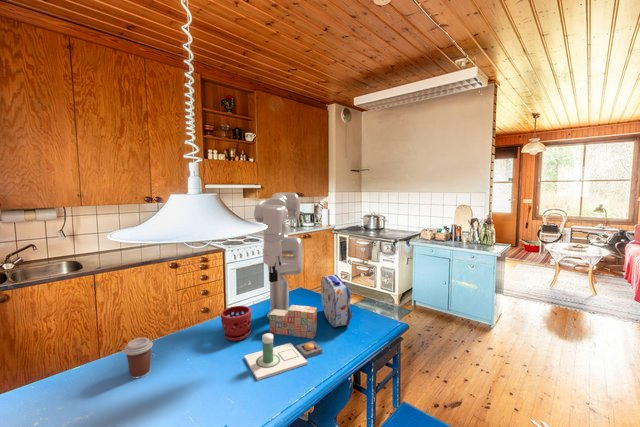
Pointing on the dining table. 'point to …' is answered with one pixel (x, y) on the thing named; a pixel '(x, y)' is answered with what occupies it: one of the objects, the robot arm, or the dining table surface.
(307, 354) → the button housing
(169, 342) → the dining table surface
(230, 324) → the plant pot
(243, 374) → the dining table surface
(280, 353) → the activity sheet
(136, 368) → the coffee cup
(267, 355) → the marker
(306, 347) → the button
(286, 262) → the robot arm
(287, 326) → the stack of blocks
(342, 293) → the lunch box
